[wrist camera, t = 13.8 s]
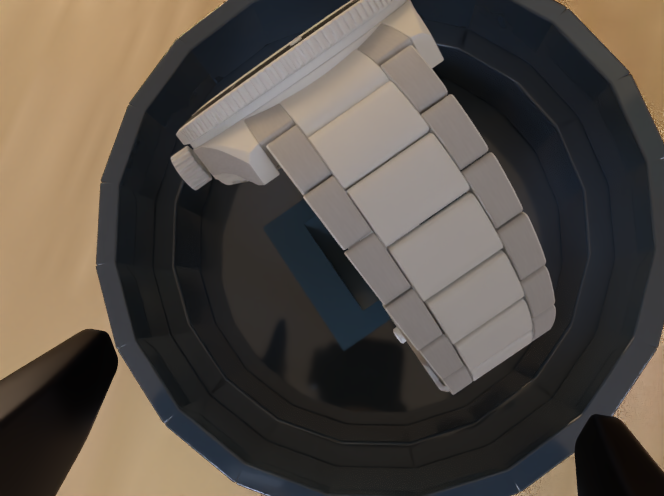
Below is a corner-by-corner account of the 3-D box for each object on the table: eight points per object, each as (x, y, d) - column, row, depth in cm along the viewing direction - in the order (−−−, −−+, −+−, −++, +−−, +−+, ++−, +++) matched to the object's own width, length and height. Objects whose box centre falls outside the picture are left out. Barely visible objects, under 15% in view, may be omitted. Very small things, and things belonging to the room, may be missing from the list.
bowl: (330, 551, 17) (305, 653, 12) (102, 206, 19) (3, 169, 14) (691, 282, 16) (822, 269, 11) (410, -29, 19) (418, -149, 14)
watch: (379, 112, 18) (363, -202, 7) (517, 295, 16) (770, 263, 5) (253, 200, 18) (43, 27, 7) (379, 389, 16) (360, 539, 6)
